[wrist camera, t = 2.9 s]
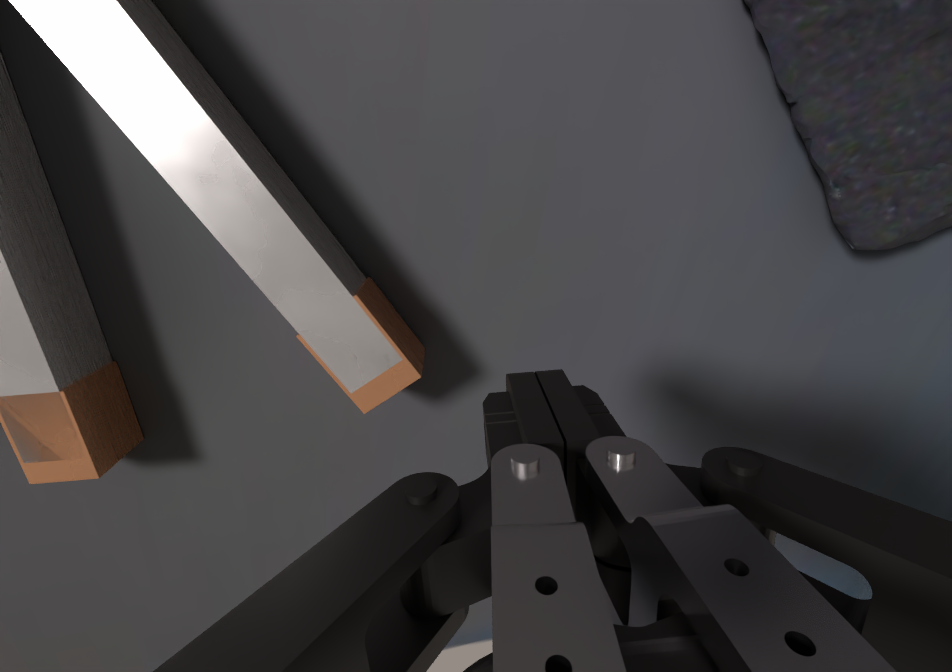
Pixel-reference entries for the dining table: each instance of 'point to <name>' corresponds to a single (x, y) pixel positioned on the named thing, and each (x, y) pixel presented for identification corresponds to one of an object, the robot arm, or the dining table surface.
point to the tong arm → (232, 187)
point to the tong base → (50, 329)
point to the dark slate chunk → (870, 108)
